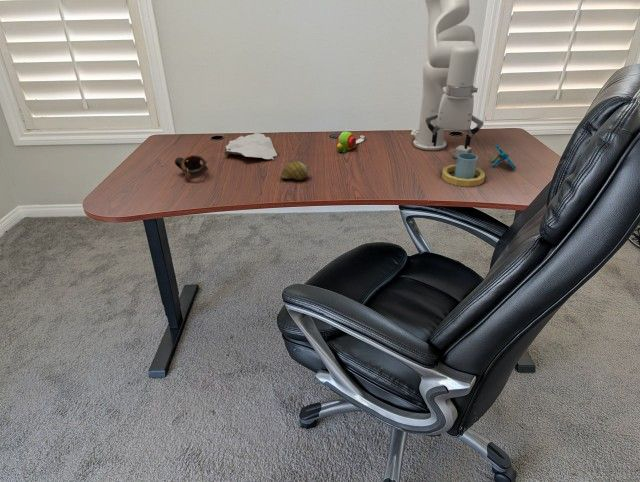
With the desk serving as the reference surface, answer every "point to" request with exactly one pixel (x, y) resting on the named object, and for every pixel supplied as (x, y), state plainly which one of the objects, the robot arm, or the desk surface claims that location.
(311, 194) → the desk surface
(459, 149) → the usb wall charger
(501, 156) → the blue branched piece
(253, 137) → the paper
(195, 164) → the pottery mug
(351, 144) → the toy measuring tape
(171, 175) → the desk surface
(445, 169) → the ring
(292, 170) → the seashell
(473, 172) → the cup
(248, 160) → the desk surface
